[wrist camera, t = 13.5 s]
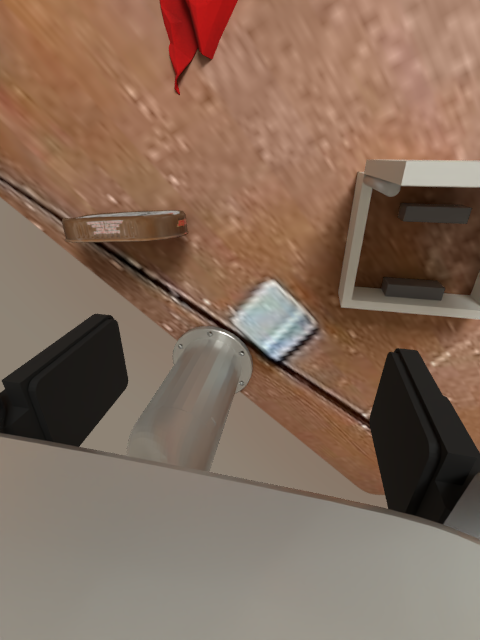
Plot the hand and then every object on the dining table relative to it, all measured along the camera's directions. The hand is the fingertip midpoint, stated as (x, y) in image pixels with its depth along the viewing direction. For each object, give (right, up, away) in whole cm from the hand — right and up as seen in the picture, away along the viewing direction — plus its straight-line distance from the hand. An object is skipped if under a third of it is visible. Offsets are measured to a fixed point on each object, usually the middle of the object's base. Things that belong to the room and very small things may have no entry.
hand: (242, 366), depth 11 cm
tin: (-13, +15, +30) cm, 36 cm away
